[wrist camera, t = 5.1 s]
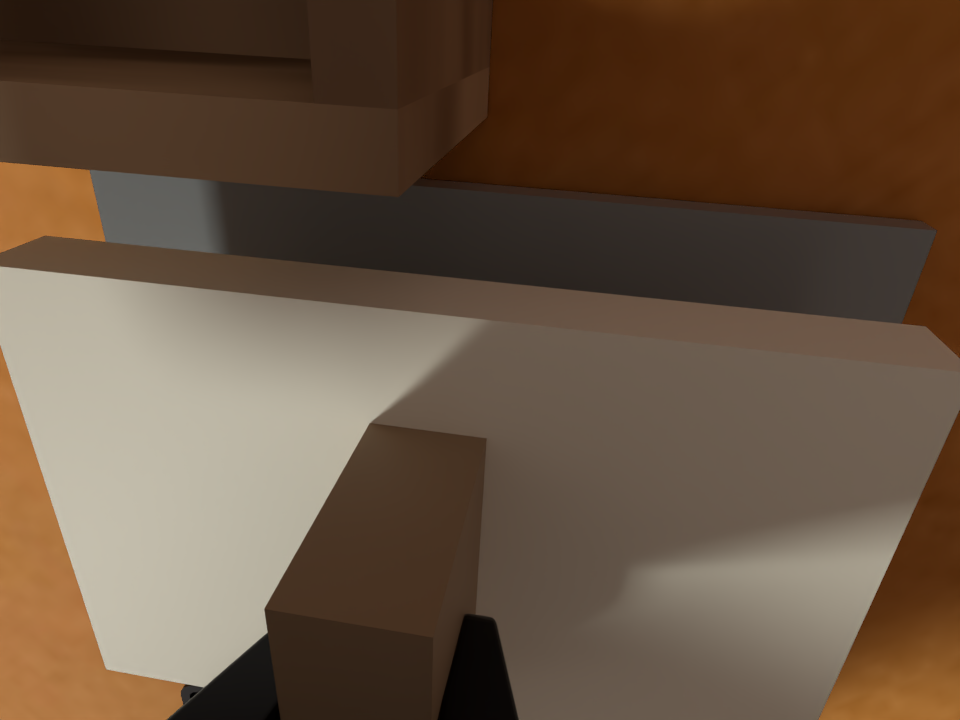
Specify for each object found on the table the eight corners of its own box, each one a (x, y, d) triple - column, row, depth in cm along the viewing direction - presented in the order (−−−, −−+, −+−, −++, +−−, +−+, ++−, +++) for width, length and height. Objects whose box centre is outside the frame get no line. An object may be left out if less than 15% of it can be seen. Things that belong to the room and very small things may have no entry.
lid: (893, 295, 9) (1212, 597, 4) (754, 673, 12) (846, 1060, 8) (92, 216, 10) (-321, 378, 6) (176, 577, 14) (-36, 857, 9)
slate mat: (767, 639, 14) (773, 660, 13) (191, 547, 15) (179, 563, 15) (921, 220, 10) (936, 230, 9) (107, 151, 11) (86, 157, 11)
